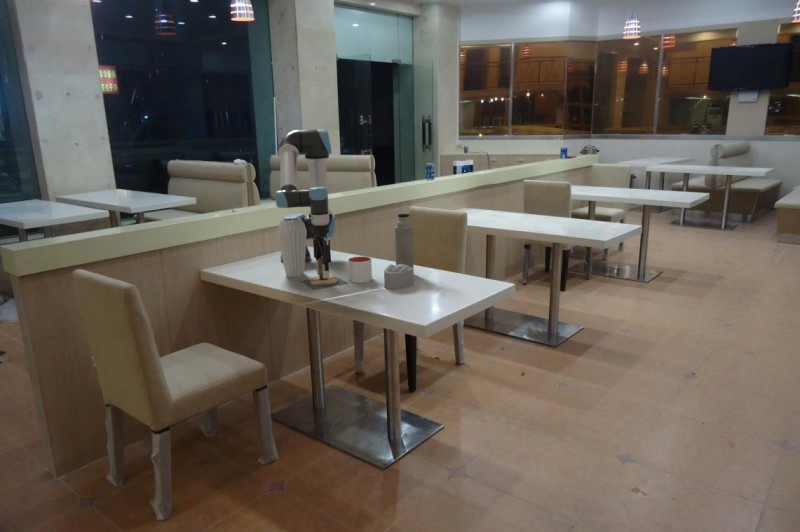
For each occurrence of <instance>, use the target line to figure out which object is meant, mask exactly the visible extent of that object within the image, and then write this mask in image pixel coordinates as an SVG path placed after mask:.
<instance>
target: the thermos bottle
mask: <svg viewBox="0 0 800 532" xmlns="http://www.w3.org/2000/svg"><path fill="white" fill-rule="evenodd" d="M397 219H398V220H397V221H396V223H395V227H394V237H395V238H394V240H395V241H394V243H395V245H394V247H395V249H394V250H395V266H397V265H398V264H403V265H408V266H409V267H412V268H413V276H414V273H415V272H414V271H415V270H414V268H415V267H414V226H413V225H412V221H411V220H410V214H409V213H398V215H397Z"/></svg>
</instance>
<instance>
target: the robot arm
mask: <svg viewBox="0 0 800 532" xmlns="http://www.w3.org/2000/svg"><path fill="white" fill-rule="evenodd" d="M328 131H329V130H327V129H323V128H322V129H321V128H316V129H315V128H314V129H309V128H308V129H293V130H290V131H289V132H288V133H287V134H285V135H284V136H283V137H282V138H281V140H280V142H279V143H278V147H277V150H278V151H277V154H278V156H279V157H278V158H280V159H279V160H280V165H279V166H280V167H279V168H280V172H279V174H280V190H276V191H275V193H274V194H275V206H276V207H277V208H279V209H291V208H310V211H308V216H307V215H305V213H302V212H300V213H291V214H288V215H285V216H283V217H282V218H281V220H282V219H287V218H300V219H301V220H302V221H303V223H304V224H305V227H306V230H307V236H306V240H312V243H313V244H312V245H313V257H314V259H315V261H316V274H317V275H316V276H319V264H318V259H319V258H323V263H322V267H323V278H329V277H330V275H331V274H330V264H331V263H332V254H331V252H332V251H331V240H330V239H331V238H333V237H334V234H335V227H336V215H335V214H333V212H332V210H331V209H330V208H329V207H330V205H329V193H328V192H329V190H328V189H329V188H328V172H327V160H329V158H330V154H333V152H332V147H331V141H330V136H329V135H330V134H329V132H328ZM299 155H304V159H305V160H306V161H307V162H308V175H309V176H308V177H309V189H298V157H299ZM329 238H330V239H329ZM311 259H312V255H311V253H310V250H309V248H308V245H307V244H306V253H305V263H306V262H307V263H308V262H309V261H311ZM280 262H281V263H283V259H282V255H281V254H280Z"/></svg>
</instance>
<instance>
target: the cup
mask: <svg viewBox="0 0 800 532" xmlns="http://www.w3.org/2000/svg"><path fill="white" fill-rule="evenodd" d="M347 261H348V262H347V263H348V278H349V282H351V283H354V284H365V283H368V282H371V281H372V279H373V269H372V267H373V266H372V258H371V257H369V256H353V257H350V258H348V260H347Z"/></svg>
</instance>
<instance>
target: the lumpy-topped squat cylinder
mask: <svg viewBox="0 0 800 532" xmlns="http://www.w3.org/2000/svg"><path fill="white" fill-rule="evenodd" d="M413 268H414V267H413ZM413 268H412V267H409V266H408V265H403V264H398V265H397V266H396V265H394V264H393V263H392V264H388V266H387V267H386V268H385V269H384V271H383V276H384V277H383V280H384V285H383V286H384V289H385V290H389V291H390V290H392V291H395V290H403V289H407V288H410V287H412V286H413V285H414V275H413Z"/></svg>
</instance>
